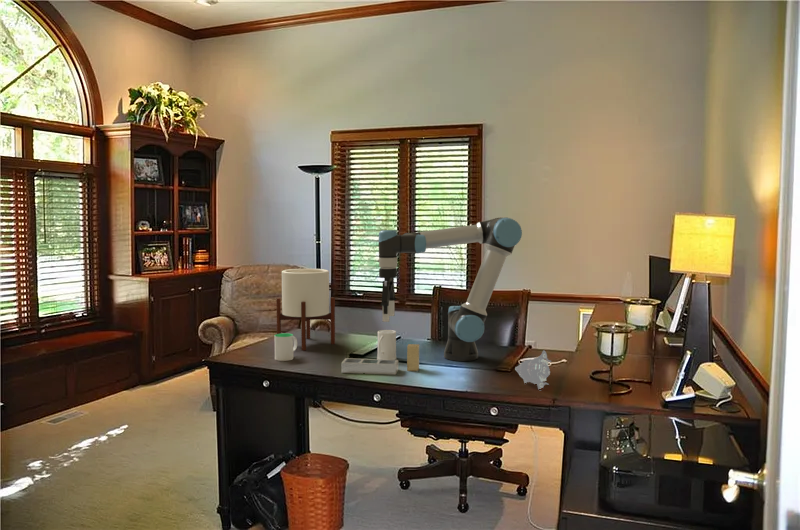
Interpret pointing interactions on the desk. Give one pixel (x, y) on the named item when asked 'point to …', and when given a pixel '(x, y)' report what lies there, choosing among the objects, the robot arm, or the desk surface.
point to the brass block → (413, 357)
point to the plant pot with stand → (305, 300)
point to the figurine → (535, 370)
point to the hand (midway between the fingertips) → (388, 318)
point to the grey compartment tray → (369, 366)
